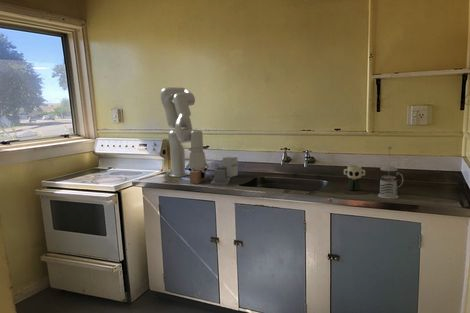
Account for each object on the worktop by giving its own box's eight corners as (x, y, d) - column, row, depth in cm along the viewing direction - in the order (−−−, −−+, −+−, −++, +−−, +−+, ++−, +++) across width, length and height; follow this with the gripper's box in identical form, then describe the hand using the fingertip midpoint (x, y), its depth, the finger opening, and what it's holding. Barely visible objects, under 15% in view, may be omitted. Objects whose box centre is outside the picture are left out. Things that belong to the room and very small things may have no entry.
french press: (380, 193, 195) (381, 144, 192) (404, 195, 189) (406, 145, 186) (375, 197, 187) (376, 146, 184) (400, 199, 181) (402, 147, 178)
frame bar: (190, 183, 232) (189, 172, 231) (198, 178, 249) (198, 167, 248) (197, 183, 231) (197, 172, 230) (206, 178, 248) (205, 167, 247)
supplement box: (231, 177, 249) (230, 158, 247) (222, 176, 254) (222, 157, 252) (238, 175, 255) (237, 156, 253) (229, 174, 259) (228, 156, 258)
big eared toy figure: (342, 190, 203) (343, 166, 201) (344, 187, 209) (344, 164, 208) (364, 191, 199) (364, 167, 197) (365, 189, 205) (365, 165, 204)
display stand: (210, 185, 225) (210, 171, 224) (215, 178, 247) (215, 166, 246) (227, 185, 224) (227, 171, 223) (230, 178, 246) (230, 165, 245)
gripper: (182, 151, 234) (183, 179, 237) (209, 150, 233) (210, 179, 235) (184, 149, 242) (186, 177, 244) (211, 149, 240) (212, 177, 243)
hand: (198, 178), depth 240 cm, fingers closed on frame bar, 5 cm apart
